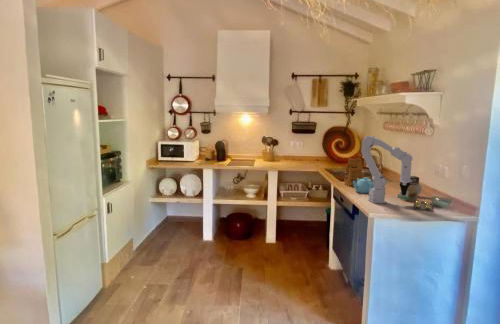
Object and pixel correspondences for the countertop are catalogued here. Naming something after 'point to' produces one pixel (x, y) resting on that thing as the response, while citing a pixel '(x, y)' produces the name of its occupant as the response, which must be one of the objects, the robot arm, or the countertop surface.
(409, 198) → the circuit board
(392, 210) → the countertop surface
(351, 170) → the coffee package
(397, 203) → the countertop surface
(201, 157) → the countertop surface
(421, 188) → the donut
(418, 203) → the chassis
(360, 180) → the teapot
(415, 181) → the coffee box
